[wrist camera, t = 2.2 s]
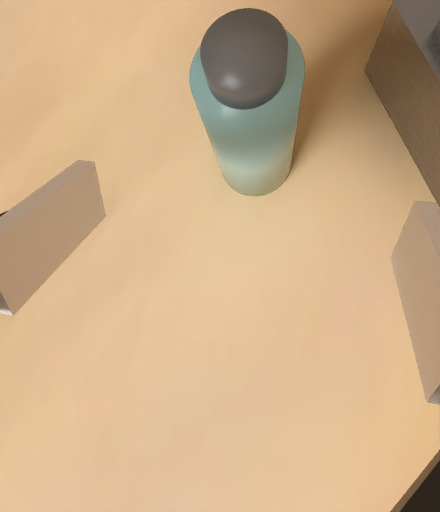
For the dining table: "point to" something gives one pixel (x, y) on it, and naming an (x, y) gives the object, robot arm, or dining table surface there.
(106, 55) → the dining table surface
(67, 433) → the dining table surface
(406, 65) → the square hollow holder
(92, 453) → the dining table surface
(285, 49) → the teal bottle
